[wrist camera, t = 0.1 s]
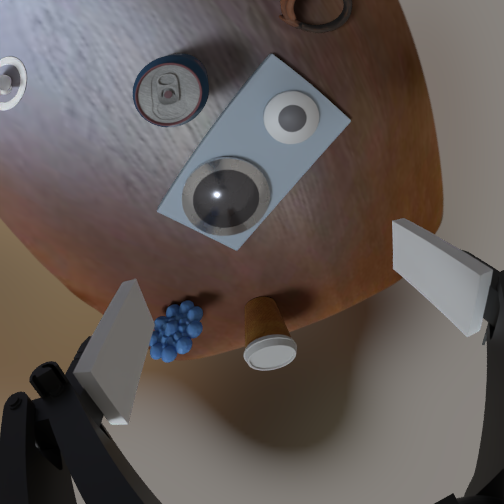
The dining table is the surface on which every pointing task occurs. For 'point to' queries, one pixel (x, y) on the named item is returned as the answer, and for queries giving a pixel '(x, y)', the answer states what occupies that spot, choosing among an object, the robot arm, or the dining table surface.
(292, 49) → the dining table surface
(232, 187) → the wide flange
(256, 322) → the disposable coffee cup
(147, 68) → the soda can
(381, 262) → the dining table surface
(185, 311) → the grapes
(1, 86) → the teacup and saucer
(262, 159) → the flange board
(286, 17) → the pottery mug
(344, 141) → the dining table surface
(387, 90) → the dining table surface
